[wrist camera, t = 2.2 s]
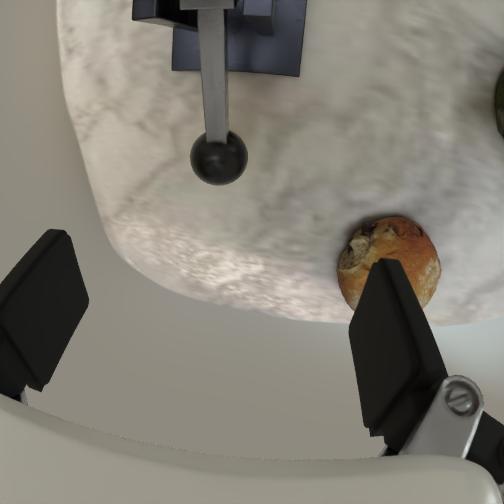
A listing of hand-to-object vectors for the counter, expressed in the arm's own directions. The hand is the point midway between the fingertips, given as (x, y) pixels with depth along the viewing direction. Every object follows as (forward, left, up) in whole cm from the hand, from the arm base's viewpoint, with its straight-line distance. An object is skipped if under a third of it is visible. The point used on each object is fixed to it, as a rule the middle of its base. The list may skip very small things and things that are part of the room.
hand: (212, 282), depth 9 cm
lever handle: (-6, -1, -10) cm, 12 cm away
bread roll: (+10, +14, -17) cm, 24 cm away
